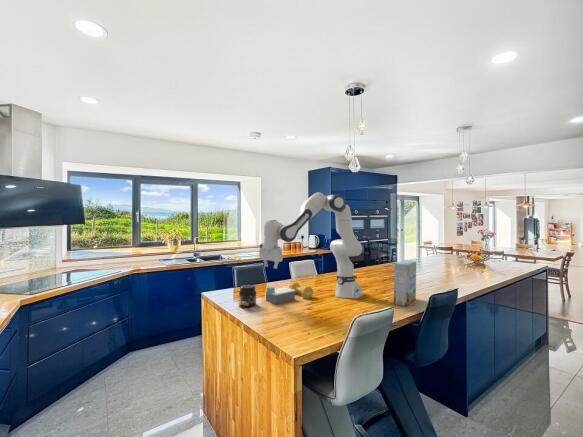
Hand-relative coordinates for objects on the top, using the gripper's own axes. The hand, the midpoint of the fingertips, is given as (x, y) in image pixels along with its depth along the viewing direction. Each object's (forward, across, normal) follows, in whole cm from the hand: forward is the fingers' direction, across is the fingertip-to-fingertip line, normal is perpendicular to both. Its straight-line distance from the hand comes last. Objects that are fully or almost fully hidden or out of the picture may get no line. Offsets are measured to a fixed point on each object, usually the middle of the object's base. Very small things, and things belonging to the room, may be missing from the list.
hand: (270, 267), depth 183 cm
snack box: (+23, -55, -67) cm, 90 cm away
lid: (+17, 0, -8) cm, 19 cm away
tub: (+23, 0, -8) cm, 24 cm away
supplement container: (+23, +5, +14) cm, 27 cm away
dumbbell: (+23, 0, -26) cm, 35 cm away
